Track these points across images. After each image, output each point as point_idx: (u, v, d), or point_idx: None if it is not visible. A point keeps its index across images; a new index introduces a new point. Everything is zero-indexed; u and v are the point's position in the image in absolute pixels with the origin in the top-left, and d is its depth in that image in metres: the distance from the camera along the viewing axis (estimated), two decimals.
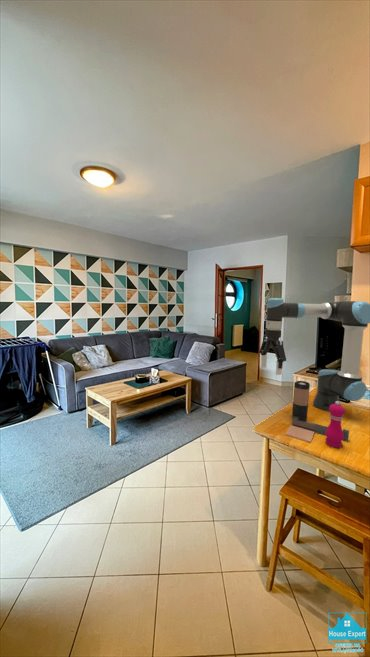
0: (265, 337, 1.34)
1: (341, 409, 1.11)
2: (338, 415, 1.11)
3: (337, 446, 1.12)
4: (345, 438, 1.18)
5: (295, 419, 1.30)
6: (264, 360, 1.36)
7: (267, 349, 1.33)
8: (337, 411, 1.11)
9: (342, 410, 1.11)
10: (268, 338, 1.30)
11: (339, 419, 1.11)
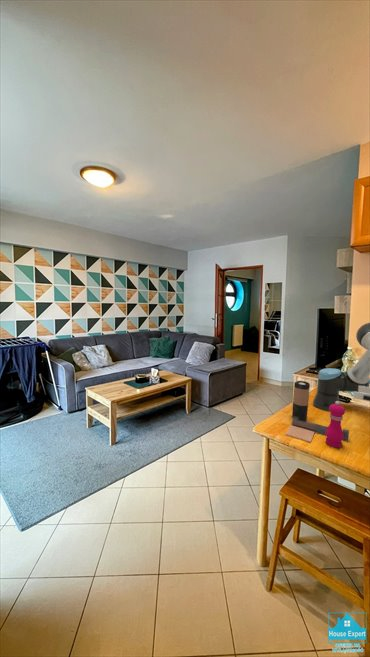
0: None
1: (341, 409, 1.11)
2: (338, 415, 1.11)
3: (337, 446, 1.12)
4: (345, 438, 1.18)
5: (295, 419, 1.30)
6: None
7: None
8: (337, 411, 1.11)
9: (342, 410, 1.11)
10: None
11: (339, 419, 1.11)
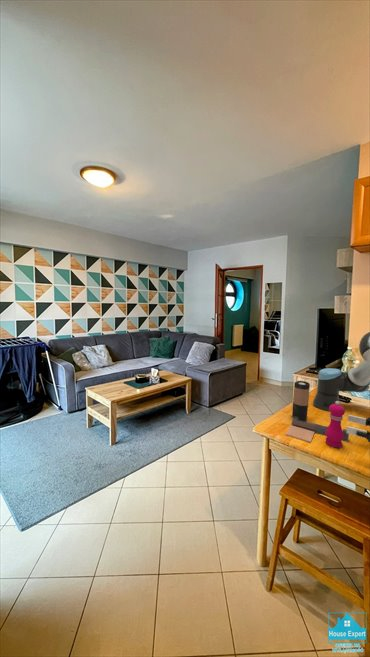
0: None
1: (341, 409, 1.11)
2: (338, 415, 1.11)
3: (337, 446, 1.12)
4: (345, 438, 1.18)
5: (295, 419, 1.30)
6: None
7: None
8: (337, 411, 1.11)
9: (342, 410, 1.11)
10: None
11: (339, 419, 1.11)
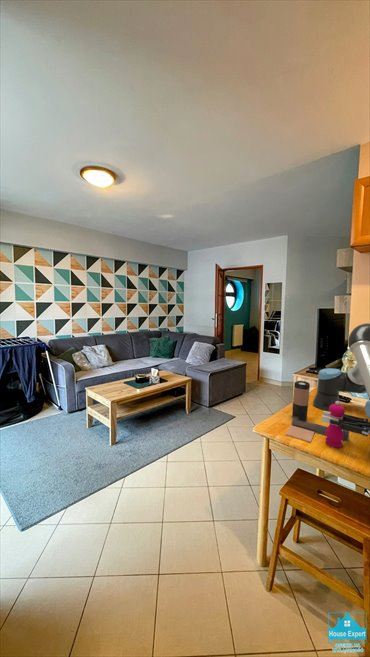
0: None
1: (341, 409, 1.11)
2: (338, 415, 1.11)
3: (337, 446, 1.12)
4: (345, 438, 1.18)
5: (295, 419, 1.30)
6: None
7: None
8: (337, 411, 1.11)
9: (342, 410, 1.11)
10: None
11: None
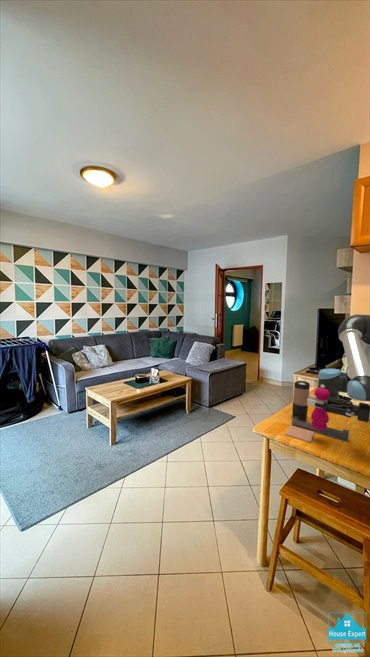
0: (351, 415, 1.05)
1: (326, 392, 1.13)
2: (323, 398, 1.13)
3: (322, 429, 1.14)
4: (345, 438, 1.18)
5: (295, 419, 1.30)
6: None
7: None
8: (322, 394, 1.13)
9: (327, 393, 1.13)
10: None
11: None
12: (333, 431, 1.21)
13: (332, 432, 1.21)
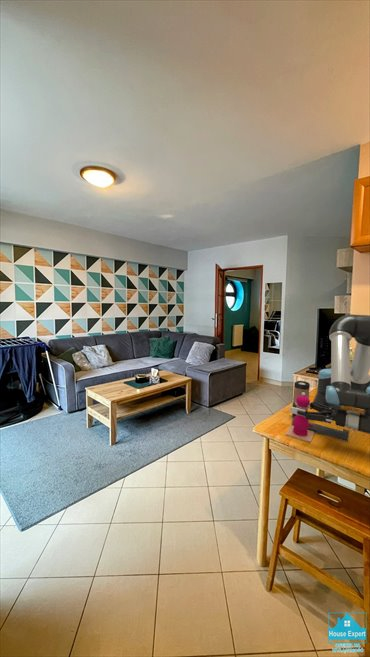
0: (330, 421, 1.10)
1: (306, 400, 1.19)
2: (303, 405, 1.19)
3: (303, 434, 1.20)
4: (345, 438, 1.18)
5: None
6: None
7: None
8: (302, 402, 1.19)
9: (307, 401, 1.19)
10: None
11: (304, 409, 1.19)
12: (333, 431, 1.21)
13: (332, 432, 1.21)
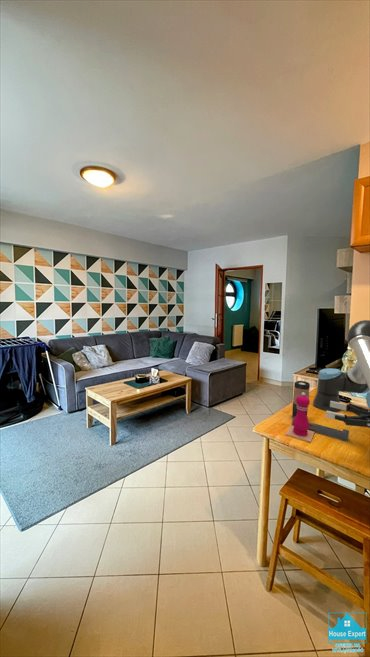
0: None
1: (306, 400, 1.19)
2: (303, 405, 1.19)
3: (303, 434, 1.20)
4: (345, 438, 1.18)
5: None
6: None
7: None
8: (302, 402, 1.19)
9: (307, 401, 1.19)
10: None
11: (304, 409, 1.19)
12: (333, 431, 1.21)
13: (332, 432, 1.21)
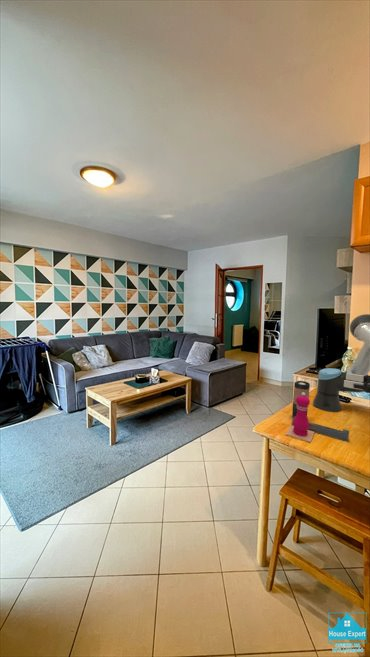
0: None
1: (306, 400, 1.19)
2: (303, 405, 1.19)
3: (303, 434, 1.20)
4: (345, 438, 1.18)
5: None
6: None
7: None
8: (302, 402, 1.19)
9: (307, 401, 1.19)
10: None
11: (304, 409, 1.19)
12: (333, 431, 1.21)
13: (332, 432, 1.21)
